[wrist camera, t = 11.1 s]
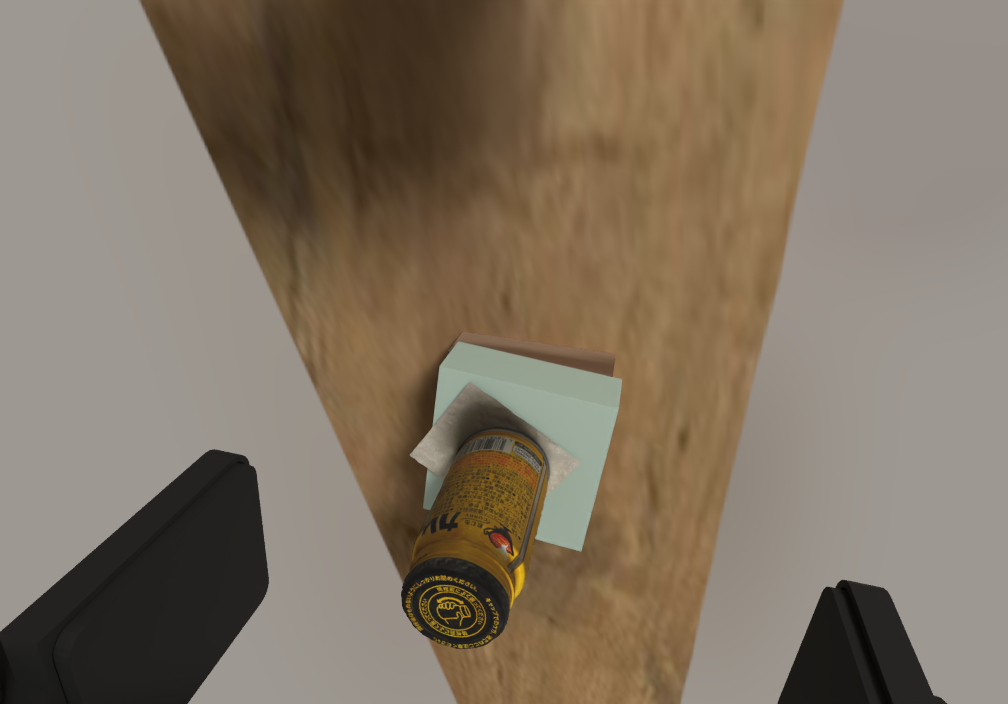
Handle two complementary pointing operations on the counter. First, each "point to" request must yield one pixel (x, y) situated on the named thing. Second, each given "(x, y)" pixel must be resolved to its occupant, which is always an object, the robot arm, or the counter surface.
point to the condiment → (479, 519)
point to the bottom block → (545, 352)
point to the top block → (542, 424)
